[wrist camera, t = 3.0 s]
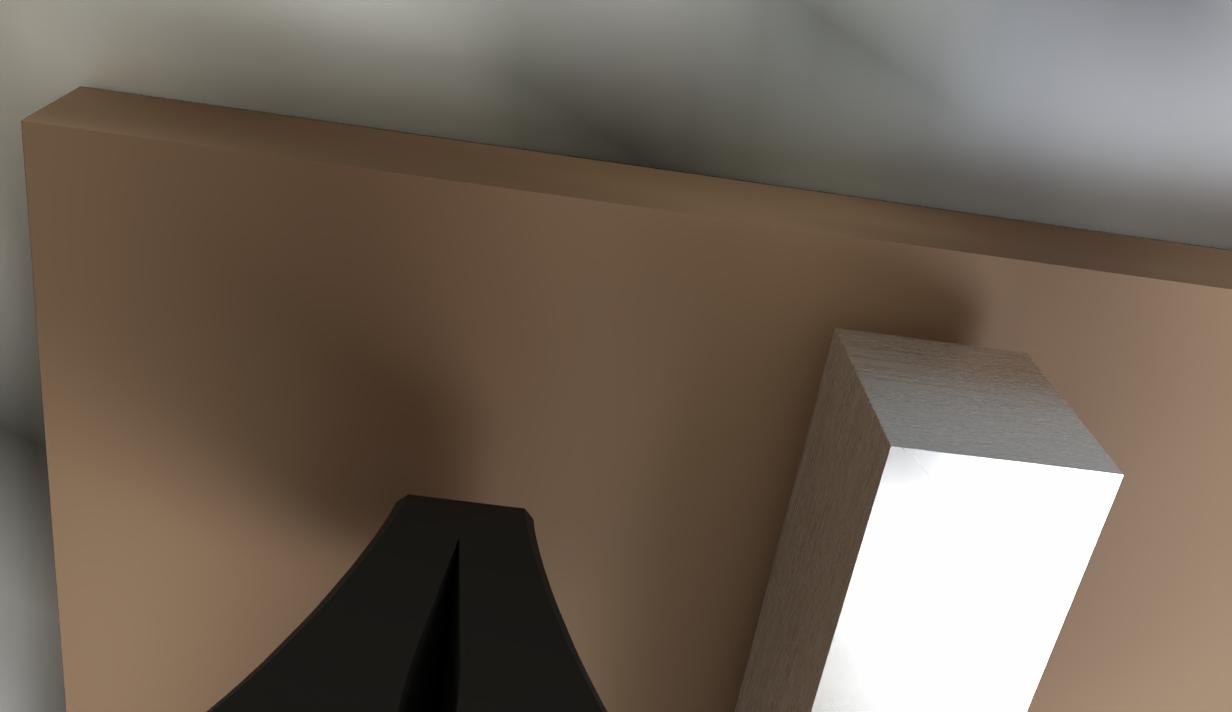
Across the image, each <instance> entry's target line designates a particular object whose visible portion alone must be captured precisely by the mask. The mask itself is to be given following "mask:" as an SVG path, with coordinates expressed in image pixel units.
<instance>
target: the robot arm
mask: <svg viewBox="0 0 1232 712" xmlns="http://www.w3.org/2000/svg"><path fill="white" fill-rule="evenodd" d="M207 712H607V710H606V708H605V706H604V705H603V703H602V701H601V699H600V697H599V695H598V693H597V691H596V689H595V687H594V685H593V683H592V681H591V679H590V678H589V676H588V674H587V672H586V670H585V668H584V665H583V663H582V661H581V659H580V657H579V655H578V653H577V651H576V648H575V646H574V644H573V641H572V639H571V637H570V634H569V632H568V630H567V627H566V625H565V622H564V620H563V618H562V615H561V613H560V611H559V608H558V606H557V603H556V600H555V598H554V595H553V592H552V590H551V587H550V584H549V581H548V578H547V575H546V572H545V569H544V566H543V562H542V559H541V555H540V551H539V547H538V543H537V539H536V534H535V528H534V519H533V518H532V517H531V515H530V514H529V513H528V512H527V511H526V509H525V508H517V507H509V506H501V505H492V504H484V503H476V502H468V501H459V500H451V499H443V498H435V497H426V496H418V495H410V494H408V495H406V496H405V497H403V498H402V499H400V500H399V501H397V502H396V503H395V505H394V507H393V509H392V510H391V512H390V514H389V516H388V517H387V519H386V520H385V522H384V523H383V525H382V526H381V528H380V529H379V531H378V532H377V533H376V535H375V536H374V538H373V539H372V540H371V542H370V543H369V544H368V546H367V547H366V548H365V550H364V551H363V552H362V553H361V555H360V556H359V557H358V559H357V560H356V561H355V562H354V564H353V565H352V566H351V567H350V569H349V570H348V571H347V572H346V573H345V574H344V576H343V577H342V578H341V579H340V580H339V581H338V583H337V584H336V585H335V586H334V587H333V588H332V590H331V591H330V592H329V593H328V594H327V595H326V597H325V598H324V599H323V600H322V601H321V602H320V604H319V605H318V606H317V607H316V608H315V609H314V610H313V611H312V612H311V614H310V615H309V616H308V617H307V618H306V619H305V620H304V621H303V622H302V623H301V624H300V625H299V626H298V627H297V628H296V629H295V630H294V631H293V632H292V633H291V634H290V635H289V636H288V637H287V638H286V639H285V640H284V641H283V642H282V643H281V644H280V645H279V646H278V647H277V648H276V649H275V650H274V651H273V652H272V653H271V654H270V655H269V656H268V657H267V658H266V659H265V660H264V661H263V662H262V663H261V664H260V665H259V666H258V667H257V668H256V669H255V670H254V671H252V672H251V673H250V674H249V675H248V676H247V677H246V678H245V679H244V680H243V681H241V682H240V683H239V684H238V685H237V686H236V687H235V688H234V689H232V690H231V691H230V692H229V693H228V694H227V695H226V696H225V697H223V698H222V699H221V700H220V701H219V702H217V703H216V704H215V705H214V706H213V707H211V708H210V709H209V710H208V711H207Z"/></svg>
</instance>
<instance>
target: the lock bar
mask: <svg viewBox="0 0 1232 712" xmlns="http://www.w3.org/2000/svg"><path fill="white" fill-rule="evenodd" d="M1122 478H1123V473H1122V472H1121V471H1120V470H1119V468H1118V467H1117V466H1116V464H1115V463H1114V462H1113V461H1112V459H1111V458H1110V457H1109V456H1108V454H1107V453H1106V452H1105V451H1104V449H1103V448H1102V447H1101V446H1100V444H1099V443H1098V442H1097V441H1096V439H1095V438H1094V437H1093V435H1092V434H1091V433H1090V432H1089V430H1088V429H1087V428H1086V427H1085V425H1084V424H1083V423H1082V422H1081V420H1080V419H1079V418H1078V417H1077V415H1076V414H1075V413H1074V412H1073V410H1072V409H1071V408H1070V406H1069V405H1068V404H1067V403H1066V401H1065V400H1064V399H1063V398H1062V396H1061V395H1060V394H1059V393H1058V391H1057V390H1056V389H1055V388H1054V386H1053V385H1052V384H1051V383H1050V381H1049V380H1048V379H1047V377H1046V376H1045V375H1044V374H1043V372H1042V371H1041V370H1040V369H1039V367H1038V366H1037V365H1036V364H1035V362H1034V361H1033V360H1032V359H1031V357H1030V356H1029V355H1028V354H1027V353H1022V352H1015V351H1007V350H1000V349H992V348H984V347H977V346H969V345H962V344H954V343H946V342H939V341H931V340H924V339H916V338H909V337H901V336H893V335H886V334H878V333H871V332H863V331H856V330H848V329H840V328H835V331H834V335H833V339H832V343H831V346H830V350H829V354H828V358H827V362H826V365H825V369H824V373H823V377H822V381H821V384H820V388H819V392H818V396H817V400H816V404H815V407H814V411H813V415H812V419H811V423H810V426H809V430H808V434H807V438H806V442H805V446H804V449H803V453H802V457H801V461H800V465H799V468H798V472H797V476H796V480H795V484H794V487H793V491H792V495H791V499H790V503H789V507H788V510H787V514H786V518H785V522H784V526H783V529H782V533H781V537H780V541H779V545H778V548H777V552H776V556H775V560H774V564H773V568H772V571H771V575H770V579H769V583H768V587H767V590H766V594H765V598H764V602H763V606H762V609H761V613H760V617H759V621H758V625H757V629H756V632H755V636H754V640H753V644H752V648H751V651H750V655H749V659H748V663H747V667H746V670H745V674H744V678H743V682H742V686H741V690H740V693H739V697H738V701H737V705H736V709H735V712H1027V709H1028V707H1029V705H1030V702H1031V700H1032V697H1033V695H1034V692H1035V690H1036V688H1037V685H1038V683H1039V680H1040V678H1041V675H1042V673H1043V670H1044V668H1045V666H1046V663H1047V661H1048V658H1049V656H1050V653H1051V651H1052V648H1053V646H1054V644H1055V641H1056V639H1057V636H1058V634H1059V631H1060V629H1061V627H1062V624H1063V622H1064V619H1065V617H1066V614H1067V612H1068V609H1069V607H1070V605H1071V602H1072V600H1073V597H1074V595H1075V592H1076V590H1077V588H1078V585H1079V583H1080V580H1081V578H1082V575H1083V573H1084V570H1085V568H1086V566H1087V563H1088V561H1089V558H1090V556H1091V553H1092V551H1093V548H1094V546H1095V544H1096V541H1097V539H1098V536H1099V534H1100V531H1101V529H1102V527H1103V524H1104V522H1105V519H1106V517H1107V514H1108V512H1109V509H1110V507H1111V505H1112V502H1113V500H1114V497H1115V495H1116V492H1117V490H1118V488H1119V485H1120V483H1121V480H1122Z"/></svg>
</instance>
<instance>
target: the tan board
mask: <svg viewBox="0 0 1232 712" xmlns="http://www.w3.org/2000/svg"><path fill="white" fill-rule="evenodd" d="M21 124H22V137H23V150H24V164H25V177H26V190H27V203H28V216H29V229H30V242H31V256H32V269H33V282H34V295H35V308H36V321H37V334H38V347H39V361H40V374H41V387H42V400H43V413H44V426H45V439H46V453H47V466H48V479H49V492H50V505H51V518H52V531H53V544H54V558H55V571H56V584H57V597H58V610H59V623H60V636H61V650H62V663H63V676H64V689H65V702H66V712H207V711H208V710H209V709H210V708H211V707H213V706H214V705H215V704H216V703H217V702H219V701H220V700H221V699H222V698H223V697H225V696H226V695H227V694H228V693H229V692H230V691H231V690H232V689H234V688H235V687H236V686H237V685H238V684H239V683H240V682H241V681H243V680H244V679H245V678H246V677H247V676H248V675H249V674H250V673H251V672H252V671H254V670H255V669H256V668H257V667H258V666H259V665H260V664H261V663H262V662H263V661H264V660H265V659H266V658H267V657H268V656H269V655H270V654H271V653H272V652H273V651H274V650H275V649H276V648H277V647H278V646H279V645H280V644H281V643H282V642H283V641H284V640H285V639H286V638H287V637H288V636H289V635H290V634H291V633H292V632H293V631H294V630H295V629H296V628H297V627H298V626H299V625H300V624H301V623H302V622H303V621H304V620H305V619H306V618H307V617H308V616H309V615H310V614H311V612H312V611H313V610H314V609H315V608H316V607H317V606H318V605H319V604H320V602H321V601H322V600H323V599H324V598H325V597H326V595H327V594H328V593H329V592H330V591H331V590H332V588H333V587H334V586H335V585H336V584H337V583H338V581H339V580H340V579H341V578H342V577H343V576H344V574H345V573H346V572H347V571H348V570H349V569H350V567H351V566H352V565H353V564H354V562H355V561H356V560H357V559H358V557H359V556H360V555H361V553H362V552H363V551H364V550H365V548H366V547H367V546H368V544H369V543H370V542H371V540H372V539H373V538H374V536H375V535H376V533H377V532H378V531H379V529H380V528H381V526H382V525H383V523H384V522H385V520H386V519H387V517H388V516H389V514H390V512H391V510H392V509H393V507H394V505H395V503H396V502H397V501H399V500H400V499H402V498H403V497H405V496H406V495H408V494H410V495H418V496H426V497H435V498H443V499H451V500H459V501H468V502H476V503H484V504H492V505H501V506H509V507H517V508H525V509H526V511H527V512H528V513H529V514H530V515H531V517H532V518H533V519H534V528H535V534H536V539H537V543H538V547H539V551H540V555H541V559H542V562H543V566H544V569H545V572H546V575H547V578H548V581H549V584H550V587H551V590H552V592H553V595H554V598H555V600H556V603H557V606H558V608H559V611H560V613H561V615H562V618H563V620H564V622H565V625H566V627H567V630H568V632H569V634H570V637H571V639H572V641H573V644H574V646H575V648H576V651H577V653H578V655H579V657H580V659H581V661H582V663H583V665H584V668H585V670H586V672H587V674H588V676H589V678H590V679H591V681H592V683H593V685H594V687H595V689H596V691H597V693H598V695H599V697H600V699H601V701H602V703H603V705H604V706H605V708H606V710H607V712H735V709H736V705H737V701H738V697H739V693H740V690H741V686H742V682H743V678H744V674H745V670H746V667H747V663H748V659H749V655H750V651H751V648H752V644H753V640H754V636H755V632H756V629H757V625H758V621H759V617H760V613H761V609H762V606H763V602H764V598H765V594H766V590H767V587H768V583H769V579H770V575H771V571H772V568H773V564H774V560H775V556H776V552H777V548H778V545H779V541H780V537H781V533H782V529H783V526H784V522H785V518H786V514H787V510H788V507H789V503H790V499H791V495H792V491H793V487H794V484H795V480H796V476H797V472H798V468H799V465H800V461H801V457H802V453H803V449H804V446H805V442H806V438H807V434H808V430H809V426H810V423H811V419H812V415H813V411H814V407H815V404H816V400H817V396H818V392H819V388H820V384H821V381H822V377H823V373H824V369H825V365H826V362H827V358H828V354H829V350H830V346H831V343H832V339H833V335H834V331H835V328H840V329H848V330H856V331H863V332H871V333H878V334H886V335H893V336H901V337H909V338H916V339H924V340H931V341H939V342H946V343H954V344H962V345H969V346H977V347H984V348H992V349H1000V350H1007V351H1015V352H1022V353H1027V354H1028V355H1029V356H1030V357H1031V359H1032V360H1033V361H1034V362H1035V364H1036V365H1037V366H1038V367H1039V369H1040V370H1041V371H1042V372H1043V374H1044V375H1045V376H1046V377H1047V379H1048V380H1049V381H1050V383H1051V384H1052V385H1053V386H1054V388H1055V389H1056V390H1057V391H1058V393H1059V394H1060V395H1061V396H1062V398H1063V399H1064V400H1065V401H1066V403H1067V404H1068V405H1069V406H1070V408H1071V409H1072V410H1073V412H1074V413H1075V414H1076V415H1077V417H1078V418H1079V419H1080V420H1081V422H1082V423H1083V424H1084V425H1085V427H1086V428H1087V429H1088V430H1089V432H1090V433H1091V434H1092V435H1093V437H1094V438H1095V439H1096V441H1097V442H1098V443H1099V444H1100V446H1101V447H1102V448H1103V449H1104V451H1105V452H1106V453H1107V454H1108V456H1109V457H1110V458H1111V459H1112V461H1113V462H1114V463H1115V464H1116V466H1117V467H1118V468H1119V470H1120V471H1121V472H1122V473H1123V478H1122V480H1121V483H1120V485H1119V488H1118V490H1117V492H1116V495H1115V497H1114V500H1113V502H1112V505H1111V507H1110V509H1109V512H1108V514H1107V517H1106V519H1105V522H1104V524H1103V527H1102V529H1101V531H1100V534H1099V536H1098V539H1097V541H1096V544H1095V546H1094V548H1093V551H1092V553H1091V556H1090V558H1089V561H1088V563H1087V566H1086V568H1085V570H1084V573H1083V575H1082V578H1081V580H1080V583H1079V585H1078V588H1077V590H1076V592H1075V595H1074V597H1073V600H1072V602H1071V605H1070V607H1069V609H1068V612H1067V614H1066V617H1065V619H1064V622H1063V624H1062V627H1061V629H1060V631H1059V634H1058V636H1057V639H1056V641H1055V644H1054V646H1053V648H1052V651H1051V653H1050V656H1049V658H1048V661H1047V663H1046V666H1045V668H1044V670H1043V673H1042V675H1041V678H1040V680H1039V683H1038V685H1037V688H1036V690H1035V692H1034V695H1033V697H1032V700H1031V702H1030V705H1029V707H1028V709H1027V712H1232V251H1229V250H1222V249H1215V248H1208V247H1201V246H1194V245H1187V244H1180V243H1173V242H1166V241H1159V240H1152V239H1145V238H1138V237H1131V236H1124V235H1117V234H1110V233H1103V232H1096V231H1089V230H1082V229H1075V228H1068V227H1061V226H1054V225H1047V224H1040V223H1033V222H1026V221H1019V220H1012V219H1005V218H998V217H991V216H984V215H977V214H970V213H963V212H956V211H949V210H942V209H935V208H928V207H921V206H914V205H907V204H900V203H893V202H886V201H879V200H872V199H865V198H858V197H851V196H844V195H837V194H830V193H822V192H815V191H808V190H801V189H794V188H787V187H780V186H773V185H766V184H759V183H752V182H745V181H738V180H731V179H724V178H717V177H710V176H703V175H696V174H689V173H682V172H675V171H668V170H661V169H654V168H647V167H640V166H633V165H626V164H619V163H612V162H605V161H598V160H591V159H584V158H577V157H570V156H563V155H556V154H549V153H542V152H535V151H528V150H521V149H514V148H507V147H500V146H493V145H486V144H479V143H472V142H465V141H458V140H451V139H444V138H437V137H430V136H423V135H416V134H409V133H402V132H395V131H388V130H381V129H374V128H367V127H360V126H353V125H346V124H339V123H332V122H325V121H318V120H311V119H304V118H297V117H290V116H283V115H276V114H269V113H262V112H255V111H248V110H241V109H234V108H227V107H220V106H213V105H206V104H199V103H192V102H185V101H178V100H171V99H164V98H157V97H150V96H143V95H136V94H129V93H122V92H115V91H108V90H101V89H94V88H87V87H79V88H77V89H75V90H74V91H72V92H70V93H68V94H67V95H65V96H63V97H61V98H60V99H58V100H56V101H54V102H53V103H51V104H49V105H47V106H46V107H44V108H42V109H41V110H39V111H37V112H35V113H34V114H32V115H30V116H28V117H27V118H25V119H23V120H21Z"/></svg>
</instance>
